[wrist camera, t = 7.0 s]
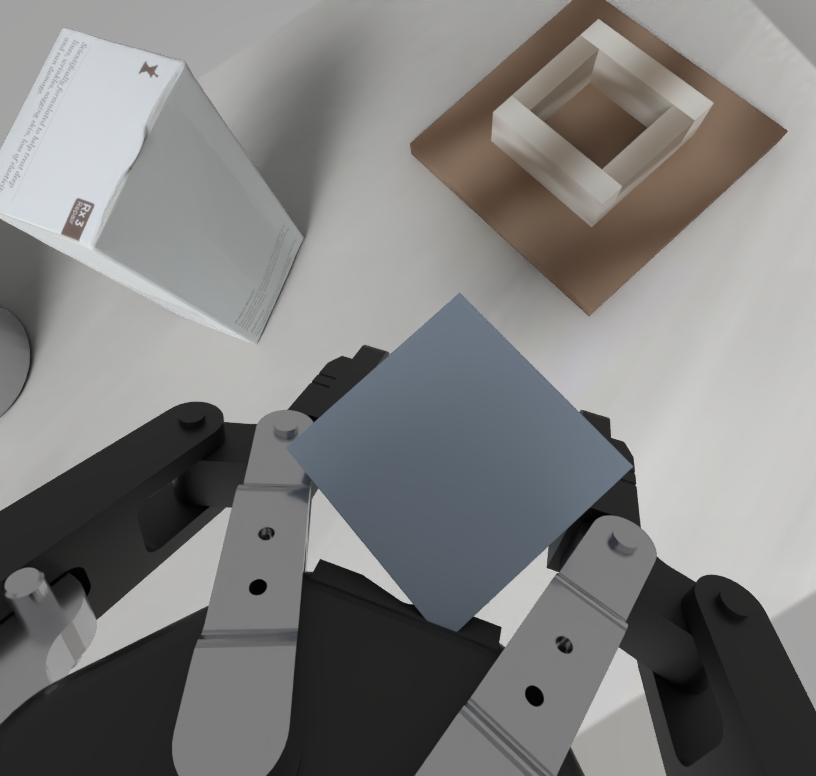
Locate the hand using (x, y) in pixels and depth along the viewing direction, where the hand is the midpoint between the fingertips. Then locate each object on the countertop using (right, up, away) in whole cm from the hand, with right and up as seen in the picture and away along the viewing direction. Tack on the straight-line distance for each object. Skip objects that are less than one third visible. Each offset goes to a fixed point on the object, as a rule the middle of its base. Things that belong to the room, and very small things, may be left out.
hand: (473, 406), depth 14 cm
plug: (0, -3, +5) cm, 6 cm away
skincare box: (-13, +7, +19) cm, 24 cm away
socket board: (+10, +16, +18) cm, 26 cm away
